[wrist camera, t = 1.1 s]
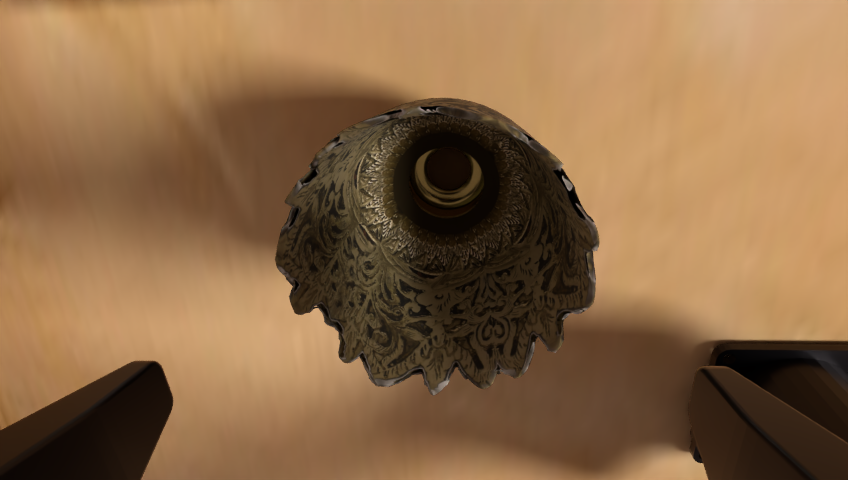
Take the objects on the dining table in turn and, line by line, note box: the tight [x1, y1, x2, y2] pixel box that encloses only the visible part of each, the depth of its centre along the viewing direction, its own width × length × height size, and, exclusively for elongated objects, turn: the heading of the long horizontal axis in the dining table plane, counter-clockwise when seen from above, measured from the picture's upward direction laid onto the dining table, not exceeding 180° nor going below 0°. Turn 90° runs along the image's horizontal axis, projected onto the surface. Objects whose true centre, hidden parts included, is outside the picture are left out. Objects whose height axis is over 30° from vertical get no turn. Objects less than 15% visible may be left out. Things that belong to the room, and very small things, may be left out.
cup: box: [275, 98, 599, 395], centre depth 15 cm, size 8×7×8 cm
